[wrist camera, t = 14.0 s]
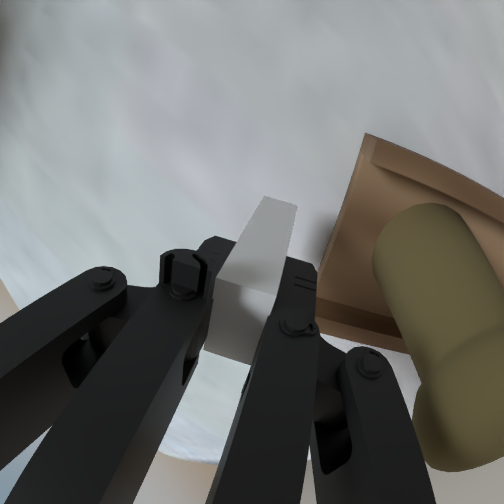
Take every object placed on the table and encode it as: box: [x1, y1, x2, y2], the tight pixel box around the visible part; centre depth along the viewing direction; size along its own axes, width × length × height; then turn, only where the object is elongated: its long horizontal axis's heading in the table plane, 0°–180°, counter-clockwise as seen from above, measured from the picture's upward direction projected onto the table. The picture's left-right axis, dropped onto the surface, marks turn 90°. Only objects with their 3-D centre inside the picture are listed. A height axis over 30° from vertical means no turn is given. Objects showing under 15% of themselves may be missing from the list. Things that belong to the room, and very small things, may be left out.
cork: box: [372, 202, 504, 472], centre depth 9 cm, size 6×6×11 cm
